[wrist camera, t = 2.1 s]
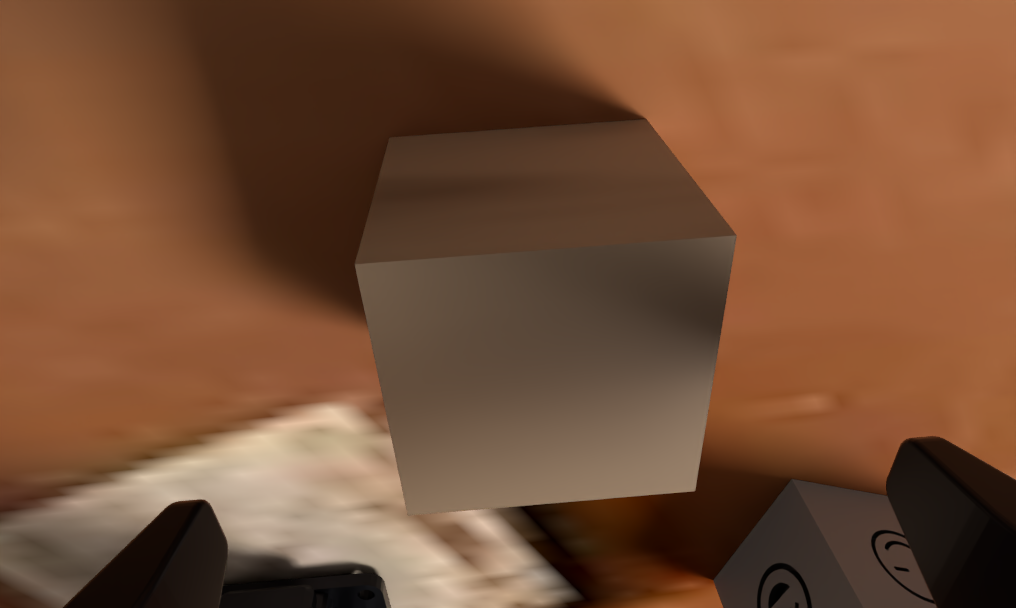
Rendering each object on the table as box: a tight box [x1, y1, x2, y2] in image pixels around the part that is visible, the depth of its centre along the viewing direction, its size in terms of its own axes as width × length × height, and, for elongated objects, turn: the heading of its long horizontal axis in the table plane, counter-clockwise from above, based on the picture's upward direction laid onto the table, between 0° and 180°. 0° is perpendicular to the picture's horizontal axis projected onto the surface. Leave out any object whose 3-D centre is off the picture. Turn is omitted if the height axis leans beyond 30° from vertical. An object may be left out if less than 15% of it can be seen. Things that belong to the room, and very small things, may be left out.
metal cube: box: [355, 119, 737, 515], centre depth 12 cm, size 5×5×5 cm
